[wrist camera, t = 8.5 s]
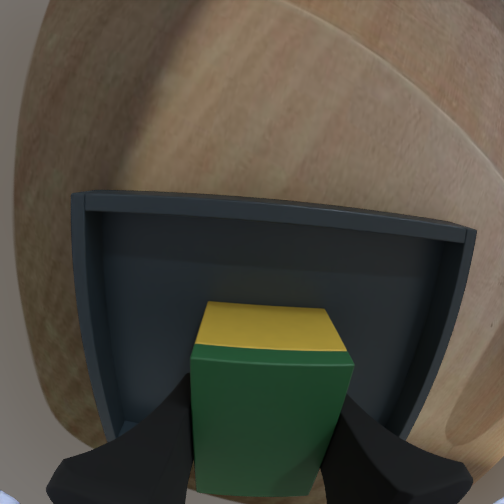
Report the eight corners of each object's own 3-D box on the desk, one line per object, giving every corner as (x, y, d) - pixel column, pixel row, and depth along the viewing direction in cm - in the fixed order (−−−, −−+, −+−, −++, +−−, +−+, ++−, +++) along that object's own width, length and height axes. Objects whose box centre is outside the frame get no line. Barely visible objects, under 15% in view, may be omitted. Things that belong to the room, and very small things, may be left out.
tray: (119, 419, 14) (107, 444, 12) (95, 189, 11) (70, 193, 9) (386, 430, 14) (398, 454, 12) (450, 221, 11) (477, 230, 10)
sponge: (206, 429, 13) (196, 492, 9) (207, 299, 12) (189, 357, 8) (297, 433, 13) (308, 496, 10) (325, 307, 12) (355, 364, 8)
